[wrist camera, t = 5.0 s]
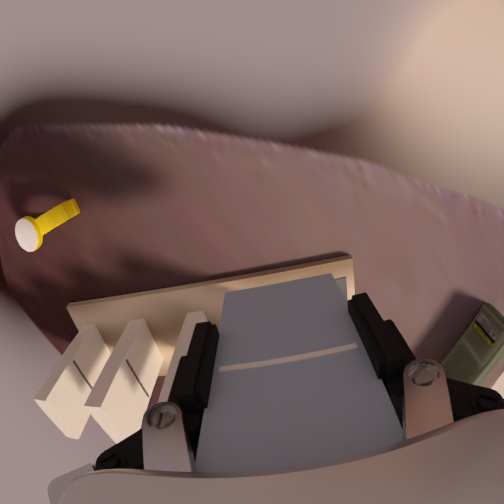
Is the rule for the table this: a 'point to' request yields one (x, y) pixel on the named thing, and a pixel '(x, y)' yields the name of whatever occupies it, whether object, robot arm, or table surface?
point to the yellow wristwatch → (43, 224)
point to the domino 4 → (291, 382)
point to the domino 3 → (181, 350)
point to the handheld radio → (477, 348)
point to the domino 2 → (126, 382)
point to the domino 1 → (74, 381)
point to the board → (192, 302)
